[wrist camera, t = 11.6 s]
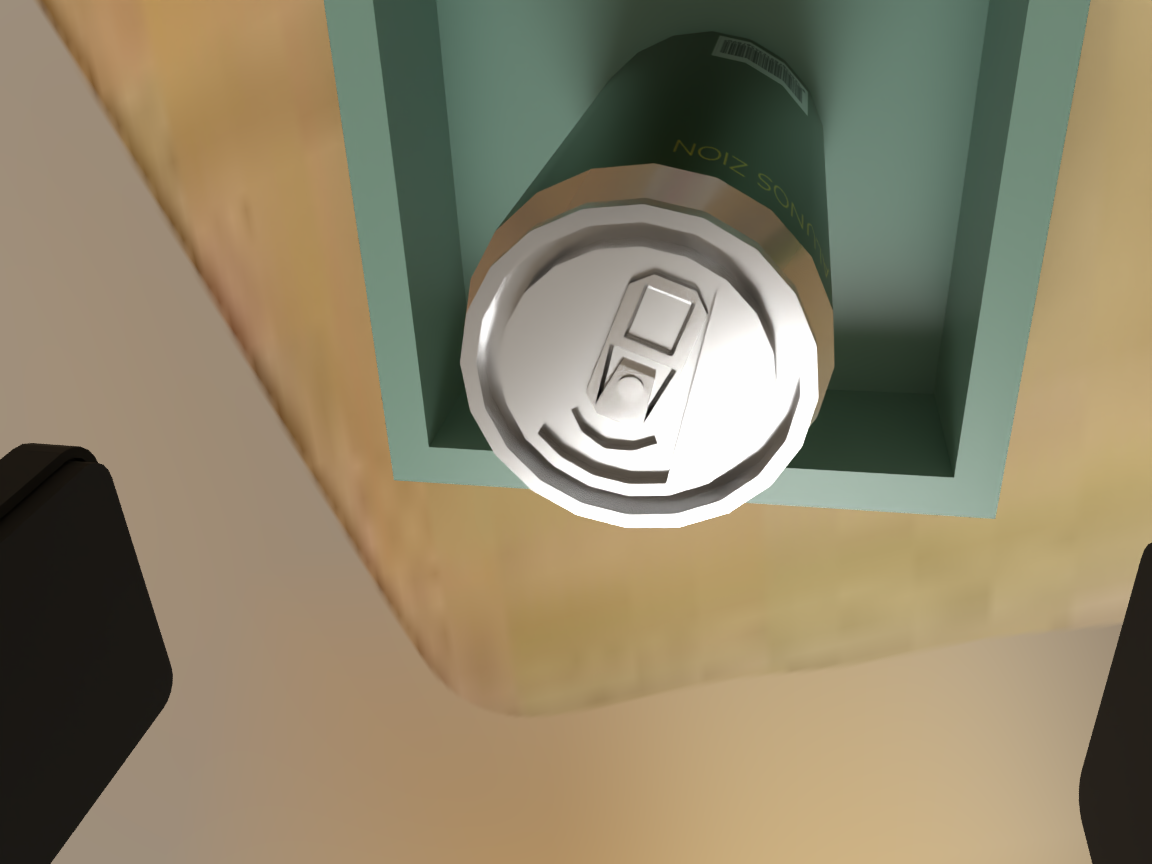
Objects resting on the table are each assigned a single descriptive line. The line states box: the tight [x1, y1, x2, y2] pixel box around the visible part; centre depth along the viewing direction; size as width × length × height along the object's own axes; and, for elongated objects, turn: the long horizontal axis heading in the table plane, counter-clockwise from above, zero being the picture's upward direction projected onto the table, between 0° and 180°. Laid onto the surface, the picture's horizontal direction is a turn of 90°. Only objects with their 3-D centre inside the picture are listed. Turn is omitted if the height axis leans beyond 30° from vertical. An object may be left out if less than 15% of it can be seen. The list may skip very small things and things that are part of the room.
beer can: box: [460, 31, 834, 528], centre depth 20 cm, size 5×5×12 cm
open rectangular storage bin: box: [324, 0, 1090, 519], centre depth 23 cm, size 14×14×5 cm
